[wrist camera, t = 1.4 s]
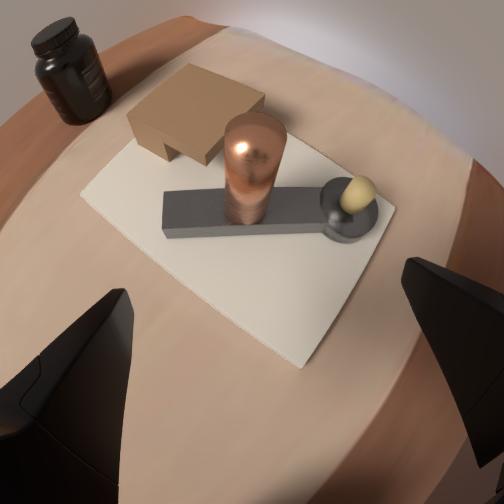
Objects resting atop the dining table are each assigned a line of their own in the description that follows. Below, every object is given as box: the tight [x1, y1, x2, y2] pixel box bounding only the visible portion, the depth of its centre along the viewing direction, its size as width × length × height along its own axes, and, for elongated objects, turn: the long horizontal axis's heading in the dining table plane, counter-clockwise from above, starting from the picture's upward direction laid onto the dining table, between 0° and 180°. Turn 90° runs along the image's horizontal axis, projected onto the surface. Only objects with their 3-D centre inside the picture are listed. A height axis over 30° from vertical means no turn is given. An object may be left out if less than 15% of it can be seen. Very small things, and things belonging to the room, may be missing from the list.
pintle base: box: [80, 64, 395, 369], centre depth 22 cm, size 24×16×6 cm
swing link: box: [162, 112, 378, 244], centre depth 18 cm, size 16×5×10 cm, turn 94°
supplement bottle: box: [31, 17, 112, 125], centre depth 21 cm, size 7×7×12 cm
